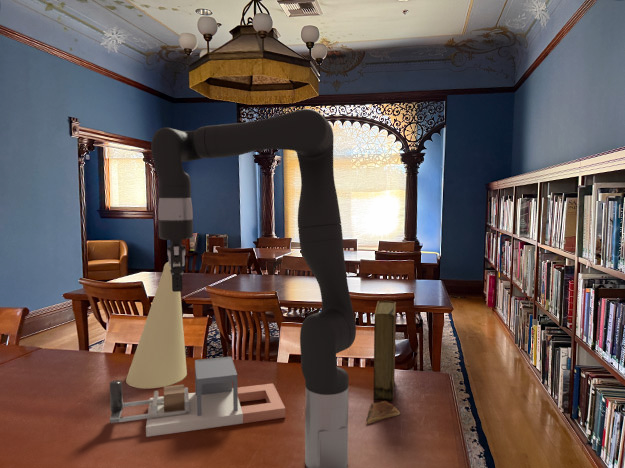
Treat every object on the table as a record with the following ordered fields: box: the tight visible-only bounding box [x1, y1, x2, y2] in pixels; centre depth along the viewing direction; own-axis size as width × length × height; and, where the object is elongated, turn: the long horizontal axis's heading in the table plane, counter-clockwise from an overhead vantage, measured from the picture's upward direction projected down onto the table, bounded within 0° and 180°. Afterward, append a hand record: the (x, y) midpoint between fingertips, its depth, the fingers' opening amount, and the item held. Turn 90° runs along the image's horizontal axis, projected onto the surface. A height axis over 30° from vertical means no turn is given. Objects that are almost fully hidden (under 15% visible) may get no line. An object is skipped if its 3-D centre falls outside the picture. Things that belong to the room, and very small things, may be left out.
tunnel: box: [194, 356, 238, 416], centre depth 121 cm, size 14×10×10 cm
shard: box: [365, 400, 401, 425], centre depth 120 cm, size 11×8×2 cm
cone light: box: [125, 261, 188, 389], centre depth 146 cm, size 25×18×35 cm
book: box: [372, 300, 397, 402], centre depth 133 cm, size 16×6×25 cm, turn 168°
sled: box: [109, 379, 189, 424], centre depth 115 cm, size 9×19×8 cm, turn 106°
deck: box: [145, 383, 286, 438], centre depth 120 cm, size 16×34×2 cm, turn 106°
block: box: [163, 384, 185, 412], centre depth 117 cm, size 5×5×5 cm
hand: (177, 287), depth 105 cm, fingers open, 8 cm apart
